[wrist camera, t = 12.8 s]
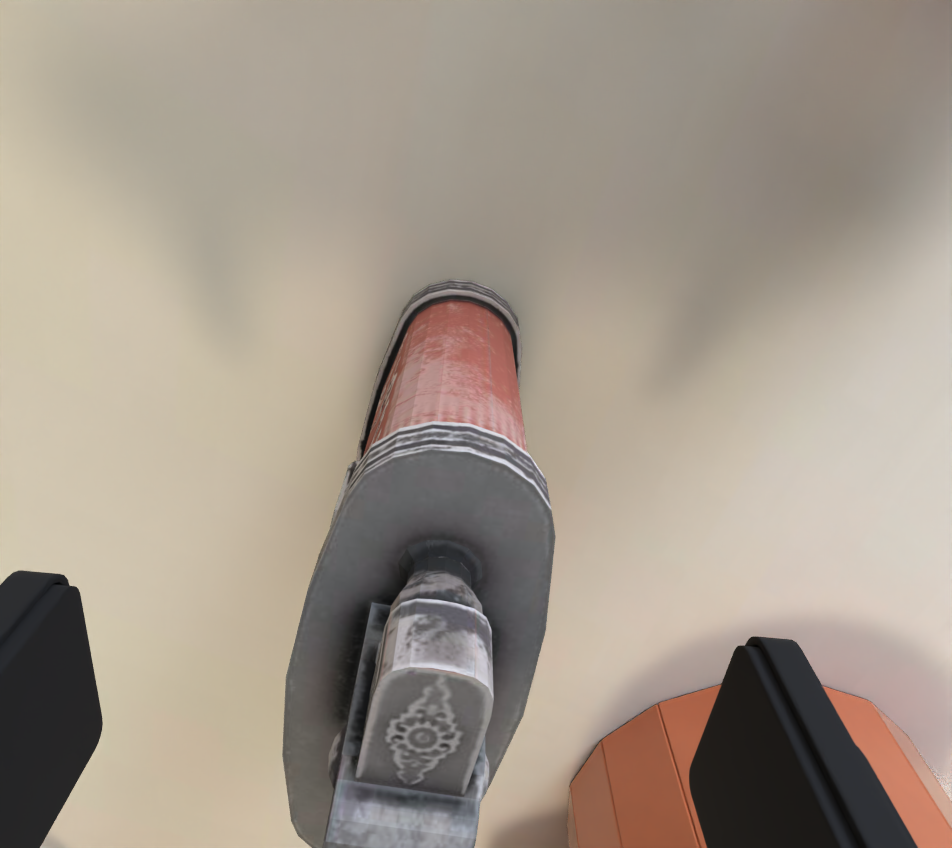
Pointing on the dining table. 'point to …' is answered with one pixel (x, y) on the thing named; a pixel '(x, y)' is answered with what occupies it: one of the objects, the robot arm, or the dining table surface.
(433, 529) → the lighter
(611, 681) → the dining table surface
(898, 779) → the mug
